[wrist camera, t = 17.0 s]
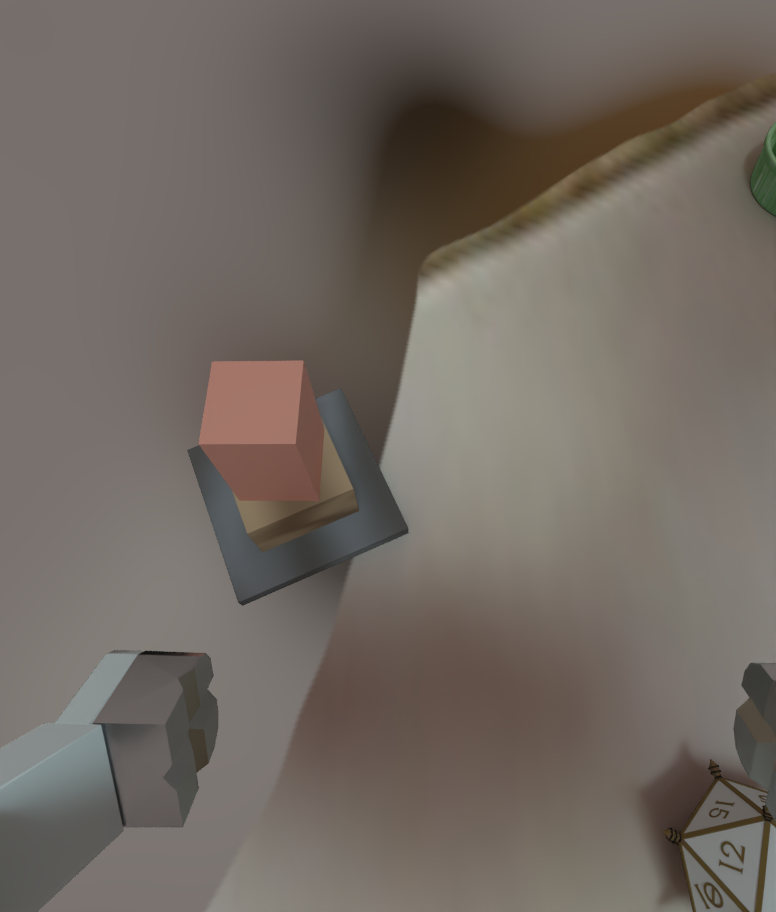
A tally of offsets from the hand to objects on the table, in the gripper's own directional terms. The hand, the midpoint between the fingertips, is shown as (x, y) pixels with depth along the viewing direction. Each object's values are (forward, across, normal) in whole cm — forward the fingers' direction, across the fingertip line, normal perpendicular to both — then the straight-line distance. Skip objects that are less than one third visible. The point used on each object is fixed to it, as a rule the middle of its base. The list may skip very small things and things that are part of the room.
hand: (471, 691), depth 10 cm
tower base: (+33, +10, +11) cm, 36 cm away
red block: (+30, +10, +8) cm, 32 cm away
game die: (+18, -16, +26) cm, 36 cm away
